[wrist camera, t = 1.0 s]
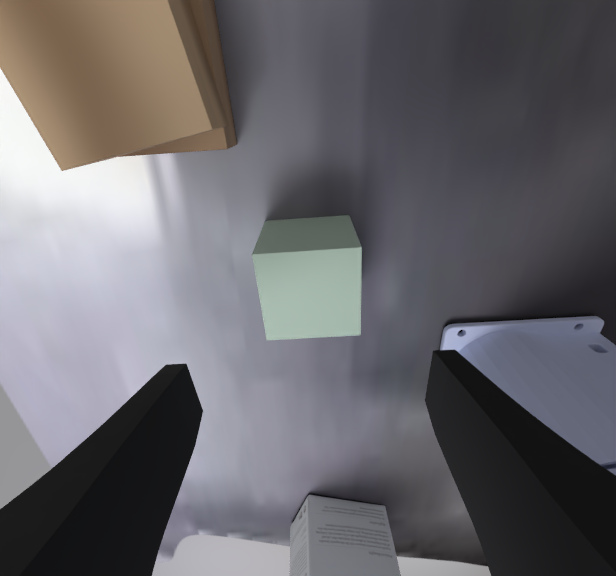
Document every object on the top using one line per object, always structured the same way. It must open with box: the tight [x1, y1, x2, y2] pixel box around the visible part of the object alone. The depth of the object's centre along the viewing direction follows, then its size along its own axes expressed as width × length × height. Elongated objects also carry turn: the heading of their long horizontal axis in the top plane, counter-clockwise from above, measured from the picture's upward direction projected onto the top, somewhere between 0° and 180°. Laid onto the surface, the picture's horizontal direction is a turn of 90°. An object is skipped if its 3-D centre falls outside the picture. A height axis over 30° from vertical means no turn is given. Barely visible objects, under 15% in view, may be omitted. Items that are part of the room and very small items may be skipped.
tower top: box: [0, 0, 229, 171], centre depth 10 cm, size 6×6×2 cm
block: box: [252, 215, 362, 340], centre depth 16 cm, size 4×4×4 cm
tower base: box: [118, 0, 237, 157], centre depth 13 cm, size 6×6×2 cm
